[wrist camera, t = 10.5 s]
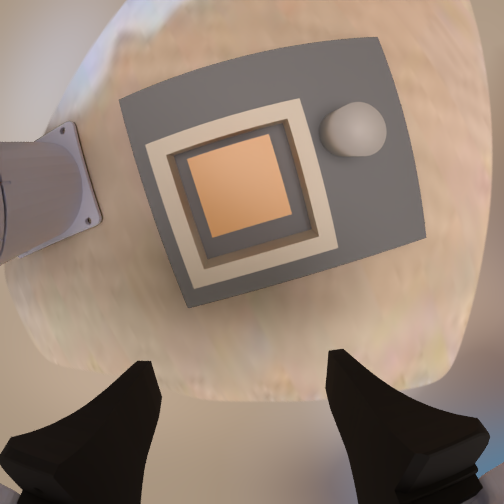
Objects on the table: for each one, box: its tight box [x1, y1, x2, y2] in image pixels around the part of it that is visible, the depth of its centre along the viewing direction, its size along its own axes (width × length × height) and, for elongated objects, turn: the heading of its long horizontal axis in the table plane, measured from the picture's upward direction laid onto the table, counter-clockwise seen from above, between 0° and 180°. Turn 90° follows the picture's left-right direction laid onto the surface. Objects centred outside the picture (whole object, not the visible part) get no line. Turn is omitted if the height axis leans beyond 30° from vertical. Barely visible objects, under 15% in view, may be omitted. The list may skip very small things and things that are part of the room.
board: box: [119, 37, 426, 308], centre depth 17 cm, size 18×15×4 cm
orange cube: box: [187, 134, 292, 238], centre depth 16 cm, size 4×4×4 cm
